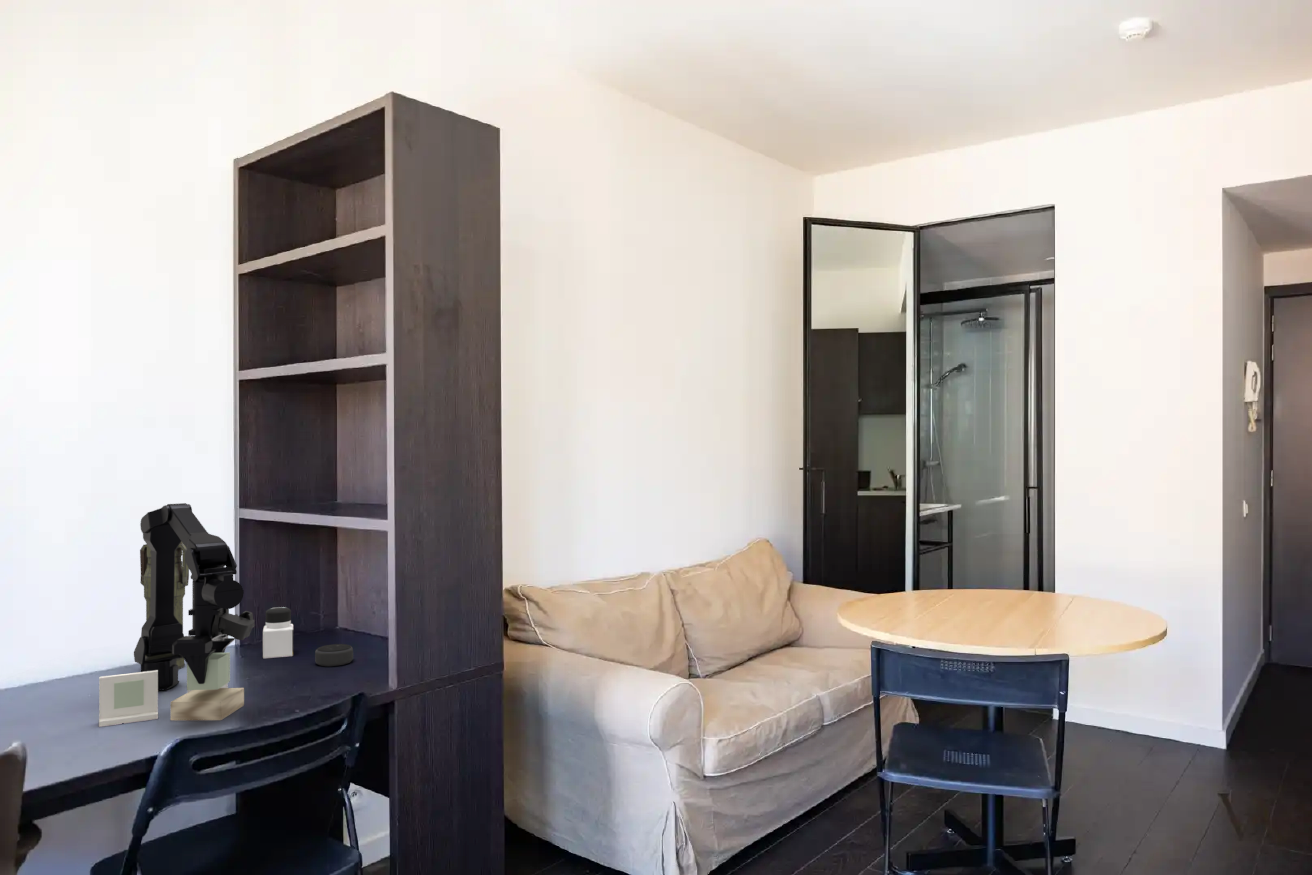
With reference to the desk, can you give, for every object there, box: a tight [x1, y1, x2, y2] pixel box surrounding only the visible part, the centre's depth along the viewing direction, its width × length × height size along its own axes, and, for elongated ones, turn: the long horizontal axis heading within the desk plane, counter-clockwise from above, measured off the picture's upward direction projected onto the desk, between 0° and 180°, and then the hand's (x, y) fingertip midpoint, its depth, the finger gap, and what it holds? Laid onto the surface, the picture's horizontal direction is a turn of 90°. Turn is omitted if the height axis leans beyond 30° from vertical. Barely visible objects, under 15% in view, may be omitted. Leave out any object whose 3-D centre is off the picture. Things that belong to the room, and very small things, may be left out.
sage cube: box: [186, 652, 231, 691], centre depth 183 cm, size 6×6×6 cm
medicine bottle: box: [262, 606, 294, 659], centre depth 232 cm, size 7×7×12 cm
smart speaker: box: [314, 643, 354, 667], centre depth 223 cm, size 9×9×4 cm
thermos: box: [139, 541, 190, 670], centre depth 219 cm, size 9×12×35 cm
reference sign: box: [98, 670, 159, 728], centre depth 178 cm, size 10×5×9 cm, turn 120°
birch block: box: [170, 687, 245, 721], centre depth 182 cm, size 10×10×4 cm
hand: (208, 679), depth 182 cm, fingers closed on sage cube, 6 cm apart
